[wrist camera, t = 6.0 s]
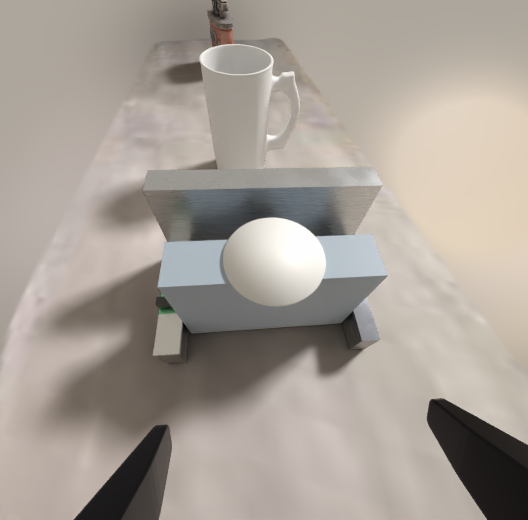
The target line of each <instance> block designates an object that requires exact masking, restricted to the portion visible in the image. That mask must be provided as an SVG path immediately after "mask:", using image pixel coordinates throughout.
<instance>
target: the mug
mask: <svg viewBox="0 0 528 520" xmlns="http://www.w3.org/2000/svg"><path fill="white" fill-rule="evenodd" d="M199 61H200V63H201V69H202V77H203V85H204V91H205V97H206V103H207V109H208V115H209V121H210V127H211V134H212V140H213V146H214V152H215V157H216V163H217V169H264V167H265V156H266V153H267V152H268V151H270V150H275V149H278V150H281V149H283V148H284V146H285V144H286V143H287V141H288V139H289V137H290V135H291V133H292V132H293V130H294V128H295V125H296V123H297V120H298V116H299V109H300V102H299V96H298V91H297V88H296V84H295V79H294V72H284V73H282V74H281V75H280V76H279V77H275V76H273V75H272V66H273V58H272V56H271V55H270V54H269V53H268V52H266V51H264V50H262V49H260V48H257V47H253V46H249V45H241V44H226V45H219V46H215V47H212V48H209V49H207V50H205V51H204V52H203V53H202V54H201V55H200V57H199ZM277 91H281V92H284V93H285V94H286V95H287V97H288V99H289V102H290V113H289V117H288V121H287V123H286V125H285V127H284V129H283V130H282V131H281V132H280V133H279V134H278V135H275V136H270V135H268V134H267V129H268V117H269V105H270V97H271V95H272V94H273V93H274V92H277Z"/></svg>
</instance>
